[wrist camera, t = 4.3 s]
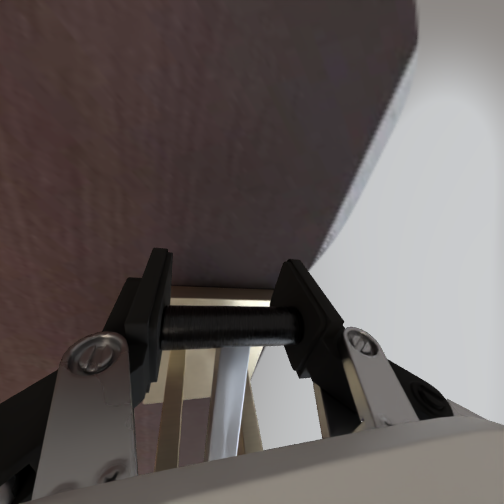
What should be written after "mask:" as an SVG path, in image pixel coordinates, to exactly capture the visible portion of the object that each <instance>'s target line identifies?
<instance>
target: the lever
mask: <svg viewBox="0 0 504 504" xmlns="http://www.w3.org/2000/svg"><path fill="white" fill-rule="evenodd" d="M303 336H304V321H303V317H302V314H301V312H300V311H299V310H298V309H297V308H295V307H267V306H192V305H166V306H165V307H164V310H163V315H162V321H161V329H160V339H159V348H160V350H161V351H167V350H190V349H212V348H216V352H215V361H214V371H213V380H212V389H211V398H210V408H209V417H208V426H207V435H206V444H205V454H204V462H208V461H213V460H218V459H223V458H228V457H233V456H237V450H238V442H239V434H240V426H241V418H242V410H243V402H244V394H245V386H246V378H247V370H248V362H249V354H250V347H258V346H280V345H297V344H299V343H300V342H301V341H302V339H303Z"/></svg>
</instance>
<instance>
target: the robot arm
mask: <svg viewBox="0 0 504 504" xmlns="http://www.w3.org/2000/svg"><path fill="white" fill-rule="evenodd" d="M172 259H173V253H171V252H168V249H163V248H153V250H152V253H151V255H150V258H149V261H148V263H147V266H146V269H145V271H144V274H143V276H142V278H131V277H129V278H128V279H127V280H126V282H125V284H124V286H123V288H122V291H121V293H120V295H119V297H118V299H117V301H116V303H115V305H114V307H113V310H112V312H111V314H110V316H109V318H108V320H107V322H106V324H105V326H104V329H103V331H102V332H97V333H94V334H91V335H88V336H86V337H84V338H82V339H80V340H78V341H77V342H76V343H74V344H73V345H72V346H71V347H69V349H68V350H67V351H66V352H65V353H64V355H63V357H62V359H61V361H60V364H59V369H58V370H57V371H55V372H53V373H52V374H50V375H48V376H46V377H45V378H43V379H41V380H40V381H38V382H36V383H35V384H33V385H31V386H30V387H28V388H26V389H24V390H23V391H21V392H19V393H18V394H16V395H14V396H13V397H11V398H9V399H7V400H6V401H4V402H2V403H1V404H0V504H504V425H501V424H498V423H495V422H492V421H488V420H486V419H484V418H482V417H481V416H479V415H477V414H475V413H473V412H471V411H469V410H468V409H466V408H464V407H462V406H460V405H458V404H456V403H454V402H452V401H451V400H449V399H447V400H446V399H445V398H444V397H443V396H442V394H441V393H440V392H439V391H438V390H437V389H435V388H434V387H433V386H432V385H430V384H429V383H427V382H426V381H424V380H422V379H420V378H419V377H417V376H415V375H414V374H412V373H410V372H408V371H407V370H405V369H403V368H402V367H400V366H398V365H396V364H394V363H393V362H391V361H390V360H388V359H387V358H386V356H385V354H384V352H383V350H382V348H381V347H380V345H379V344H378V342H377V341H376V340H375V339H374V338H373V337H372V336H371V335H370V334H368V333H367V332H365V331H363V330H361V329H359V328H355V327H348V328H346V329H345V328H344V326H343V323H344V321H343V319H342V318H341V316H340V315H339V314H338V312H337V311H336V309H335V308H334V307H333V305H332V304H331V302H330V301H329V300H328V298H327V297H326V295H325V294H324V293H323V291H322V290H321V288H320V287H319V286H318V285H317V283H316V282H315V280H314V279H313V277H312V276H311V275H310V273H309V272H308V270H307V269H306V268H305V266H304V265H303V263H302V262H301V261H300V260H293V259H288V260H287V262H284V263H283V266H282V269H281V271H280V274H279V277H278V280H277V283H276V286H275V289H274V291H273V294H272V297H271V300H270V307H295V308H297V309H298V310H299V311H300V312H301V314H302V317H303V321H304V336H303V339H302V341H301V342H300V343H299V344H297V345H284V347H285V350H286V352H287V355H288V358H289V361H290V363H291V366H292V368H293V370H295V371H296V372H297V374H298V377H299V378H310V377H311V379H312V381H313V387H314V392H315V398H316V404H317V410H318V416H319V422H320V428H321V434H322V439H320V440H315V441H310V442H305V443H300V444H294V445H289V446H284V447H279V448H274V449H269V450H264V451H258V452H253V453H248V454H243V455H238V456H233V457H228V458H223V459H218V460H213V461H208V462H203V463H198V464H193V465H188V466H183V467H178V468H173V469H168V470H163V471H158V472H153V473H148V474H143V475H139V476H138V464H137V449H136V433H135V418H134V408H135V407H136V406H137V405H138V404H139V403H140V402H141V401H143V400H144V399H145V394H146V393H149V390H150V385H151V383H153V382H157V380H158V374H159V368H160V362H161V356H162V351H161V350H160V348H159V339H160V329H161V321H162V315H163V310H164V307H165V306H166V305H170V301H171V280H172ZM361 421H362V422H361Z"/></svg>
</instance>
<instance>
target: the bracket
mask: <svg viewBox="0 0 504 504" xmlns="http://www.w3.org/2000/svg"><path fill="white" fill-rule="evenodd" d="M273 291H274V290H270V289H244V288H218V287H191V286H171V301H170V305H192V306H267V307H270V300H271V297H272V294H273ZM262 348H263V346H258V347H250V354H249V362H248V370H247V378H246V386H245V394H244V402H243V410H242V418H241V426H240V434H239V442H238V450H237V456H238V455H243V454H248V453H253V452H258V451H263V447H262V441H261V436H260V431H259V426H258V420H257V415H256V410H255V405H254V400H253V394H252V389H251V384H250V380H251V377H252V374H253V372H254V369H255V366H256V364H257V361H258V358H259V356H260V353H261V351H262ZM215 352H216V348H212V349H190V350H167V351H162V356H161V362H160V368H159V374H158V380H157V382H153V383H151V385H150V390H149V393H146V394H145V399H144V400H143V404H151V403H160V402H163V407H162V414H161V422H160V429H159V436H158V444H157V451H156V459H155V466H154V472H158V471H163V470H168V469H173V468H178V464H179V449H180V434H181V419H182V404H183V400H188V399H197V398H206V397H211V389H212V380H213V371H214V361H215Z"/></svg>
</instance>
